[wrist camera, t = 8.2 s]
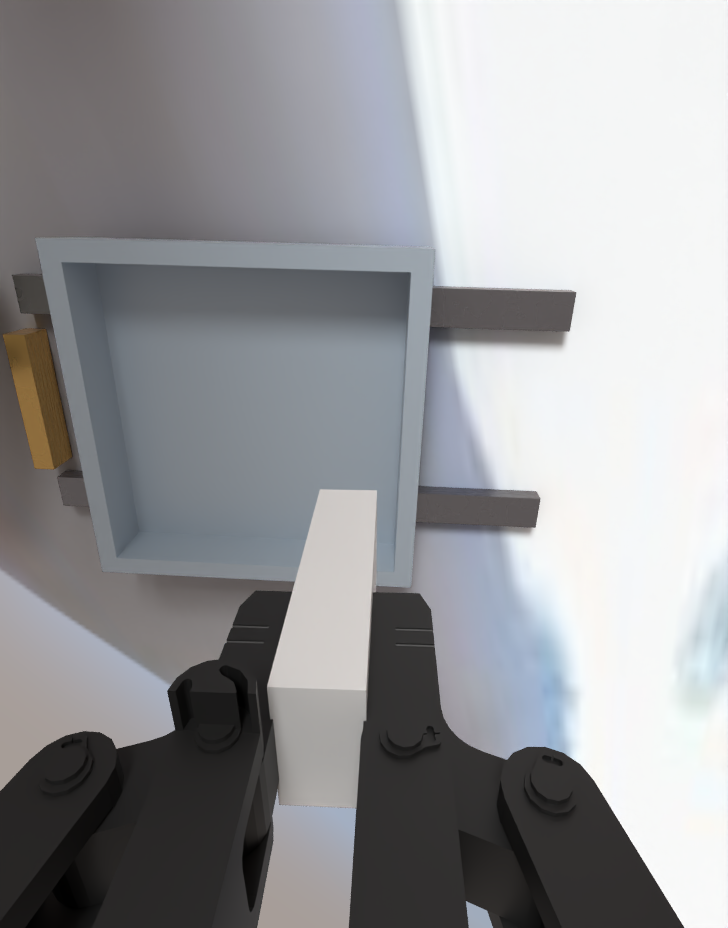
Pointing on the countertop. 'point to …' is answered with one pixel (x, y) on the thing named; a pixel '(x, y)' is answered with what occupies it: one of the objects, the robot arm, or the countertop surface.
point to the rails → (447, 310)
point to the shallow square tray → (240, 395)
